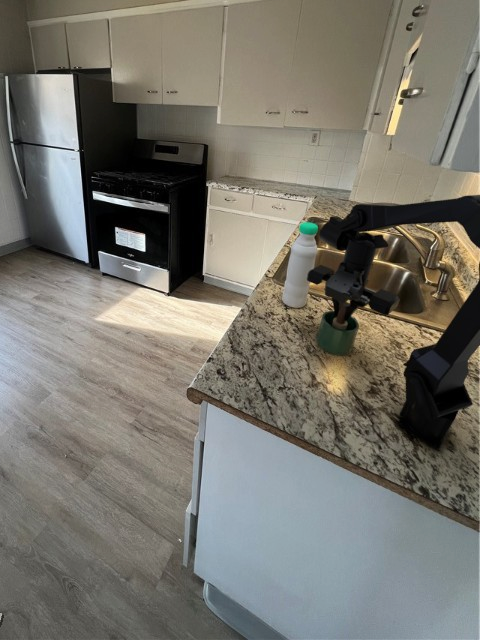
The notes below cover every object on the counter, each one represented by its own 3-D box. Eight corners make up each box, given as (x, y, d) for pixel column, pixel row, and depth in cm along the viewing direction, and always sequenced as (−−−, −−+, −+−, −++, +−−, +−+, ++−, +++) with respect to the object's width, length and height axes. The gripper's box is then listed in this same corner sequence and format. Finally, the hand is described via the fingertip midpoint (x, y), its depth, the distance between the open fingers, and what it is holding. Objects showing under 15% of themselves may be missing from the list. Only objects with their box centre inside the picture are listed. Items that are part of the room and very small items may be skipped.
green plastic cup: (357, 345, 78) (365, 322, 75) (341, 360, 73) (349, 336, 70) (326, 328, 84) (332, 307, 81) (310, 341, 79) (315, 318, 76)
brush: (346, 335, 77) (355, 304, 73) (339, 340, 75) (348, 309, 71) (333, 328, 79) (342, 298, 75) (327, 333, 77) (335, 303, 73)
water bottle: (280, 294, 98) (293, 219, 88) (303, 297, 98) (319, 221, 87) (283, 307, 92) (298, 227, 81) (307, 310, 91) (326, 229, 80)
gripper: (299, 254, 70) (288, 311, 77) (389, 289, 57) (366, 354, 64) (325, 242, 77) (312, 296, 83) (410, 271, 64) (388, 332, 70)
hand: (341, 318), depth 75 cm, fingers closed on brush, 2 cm apart
